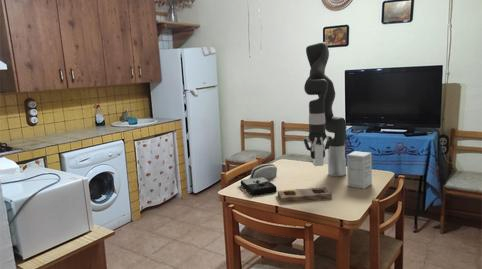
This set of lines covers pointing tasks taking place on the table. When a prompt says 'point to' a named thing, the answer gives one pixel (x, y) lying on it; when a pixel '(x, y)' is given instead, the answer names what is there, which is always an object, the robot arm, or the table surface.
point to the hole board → (304, 195)
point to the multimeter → (258, 186)
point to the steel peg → (318, 155)
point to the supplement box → (359, 169)
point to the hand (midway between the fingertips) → (317, 158)
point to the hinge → (264, 171)
